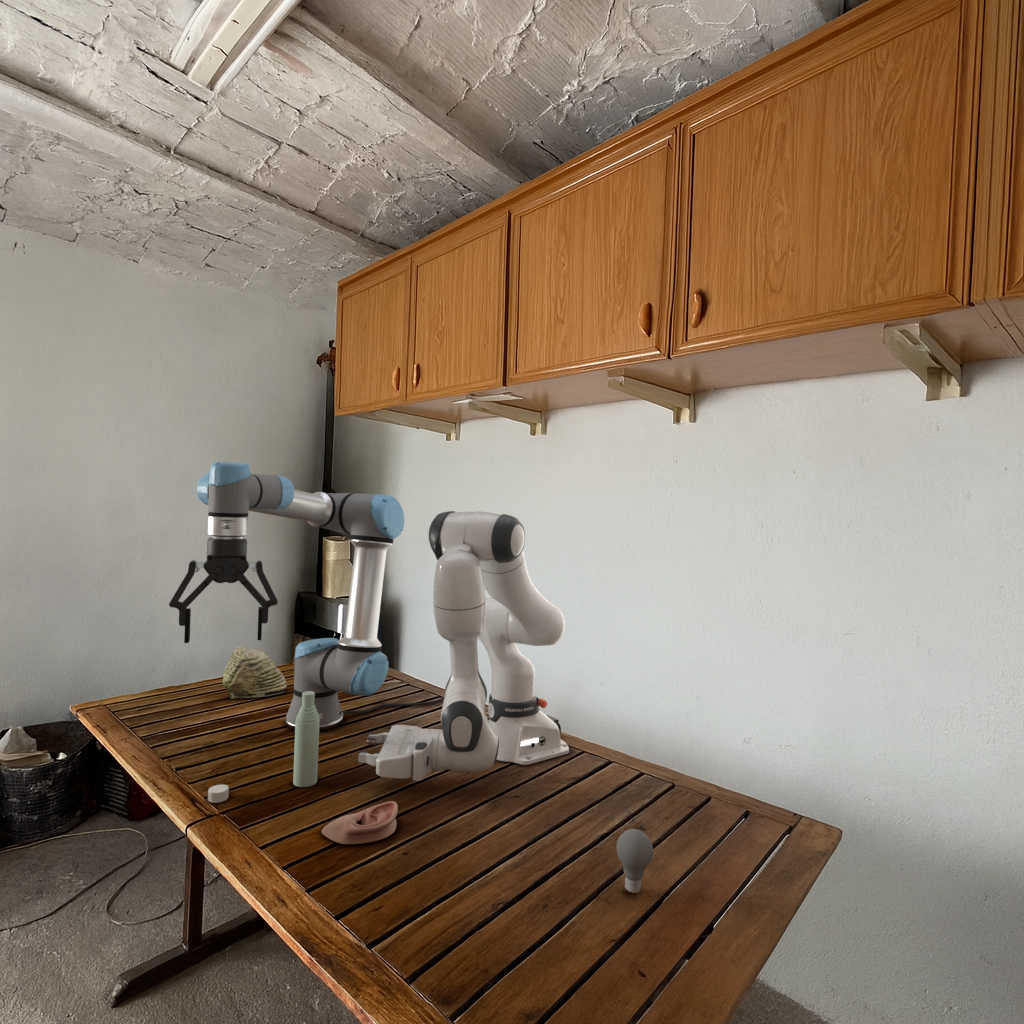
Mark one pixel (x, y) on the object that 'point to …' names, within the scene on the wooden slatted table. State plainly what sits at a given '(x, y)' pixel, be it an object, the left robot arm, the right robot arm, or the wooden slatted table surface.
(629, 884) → the light bulb
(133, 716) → the wooden slatted table surface
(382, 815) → the anatomical model
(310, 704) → the bottle
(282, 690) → the fossil
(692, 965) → the wooden slatted table surface
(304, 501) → the left robot arm
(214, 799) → the cap
